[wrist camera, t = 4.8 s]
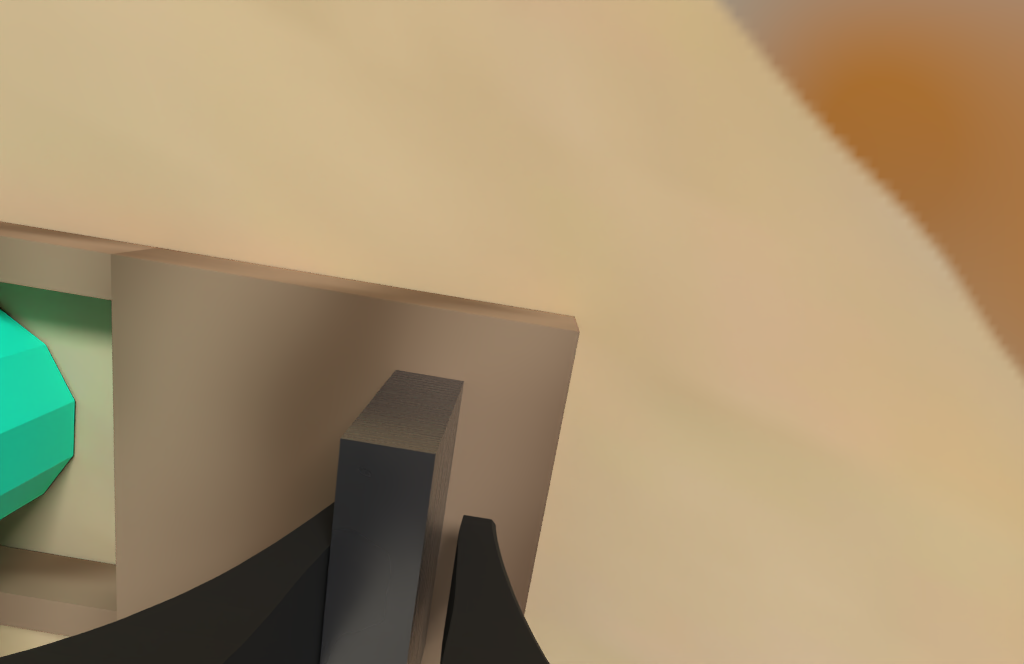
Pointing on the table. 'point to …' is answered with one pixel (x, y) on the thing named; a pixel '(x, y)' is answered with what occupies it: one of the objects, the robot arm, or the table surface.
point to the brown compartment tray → (299, 437)
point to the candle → (30, 417)
